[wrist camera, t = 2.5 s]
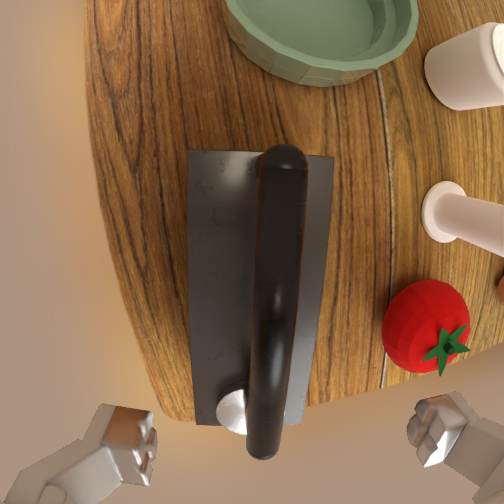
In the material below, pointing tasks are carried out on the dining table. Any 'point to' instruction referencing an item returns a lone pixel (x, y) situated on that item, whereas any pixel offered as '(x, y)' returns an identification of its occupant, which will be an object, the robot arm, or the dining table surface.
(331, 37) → the bowl
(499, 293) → the egg
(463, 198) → the candle
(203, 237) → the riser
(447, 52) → the beverage can
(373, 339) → the dining table surface
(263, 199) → the black and silver ladle
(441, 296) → the tomato
